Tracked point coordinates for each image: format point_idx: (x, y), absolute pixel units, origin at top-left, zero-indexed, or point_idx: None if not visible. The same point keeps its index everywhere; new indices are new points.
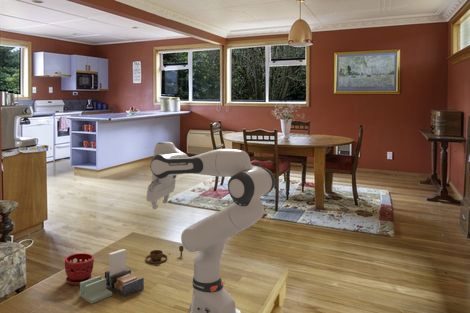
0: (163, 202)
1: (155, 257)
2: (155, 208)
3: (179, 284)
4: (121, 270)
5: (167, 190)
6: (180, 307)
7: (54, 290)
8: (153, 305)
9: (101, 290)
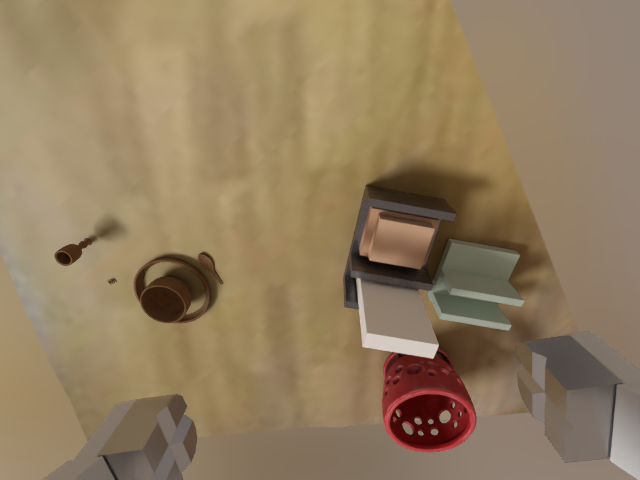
0: (190, 435)
1: (184, 288)
2: (597, 344)
3: (270, 92)
4: (381, 288)
5: None
6: None
7: (486, 372)
8: (452, 69)
9: (459, 273)
